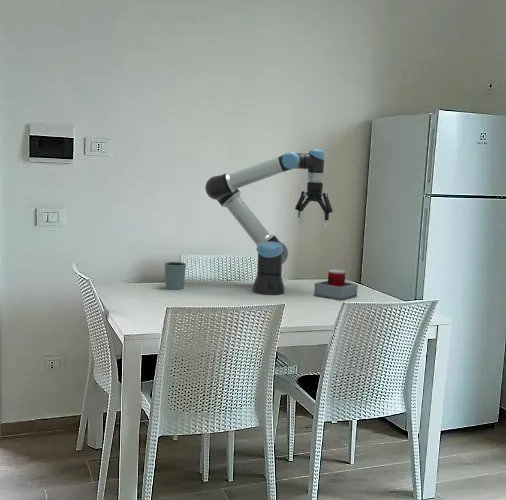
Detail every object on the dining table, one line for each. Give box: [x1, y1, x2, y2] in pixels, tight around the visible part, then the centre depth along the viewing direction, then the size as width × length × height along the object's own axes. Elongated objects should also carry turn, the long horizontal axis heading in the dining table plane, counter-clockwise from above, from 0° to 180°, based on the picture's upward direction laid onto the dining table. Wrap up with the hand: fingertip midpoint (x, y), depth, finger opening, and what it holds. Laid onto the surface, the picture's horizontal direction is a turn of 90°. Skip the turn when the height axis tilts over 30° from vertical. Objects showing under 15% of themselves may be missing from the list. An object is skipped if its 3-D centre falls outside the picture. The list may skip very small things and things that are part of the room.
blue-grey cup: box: [164, 261, 187, 291], centre depth 329 cm, size 10×10×12 cm
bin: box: [313, 280, 359, 301], centre depth 327 cm, size 15×15×6 cm
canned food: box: [327, 269, 346, 287], centre depth 327 cm, size 8×8×11 cm
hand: (312, 225), depth 337 cm, fingers open, 13 cm apart
